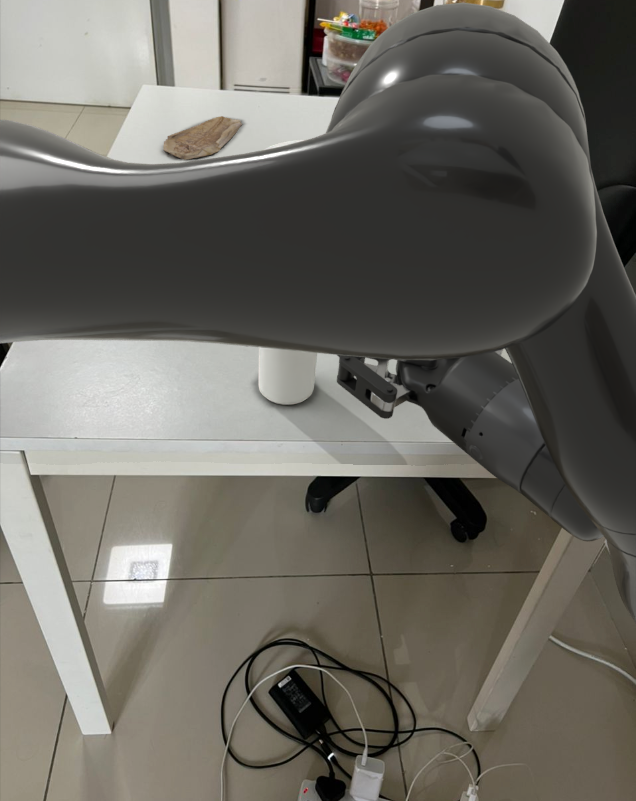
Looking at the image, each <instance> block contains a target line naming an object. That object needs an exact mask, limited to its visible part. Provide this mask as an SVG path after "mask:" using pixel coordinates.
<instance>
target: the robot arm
mask: <svg viewBox="0 0 636 801" xmlns="http://www.w3.org/2000/svg"><path fill="white" fill-rule="evenodd" d="M587 131H588V130H587V122H586V115H585V110H584V106H583V103H582V99H581V97H580V93H579V90H578V88H577V85H576V82H575V79H574V78H573V75H572V73H571V72H570V70H569V67H568V66H567V64H566V63H565V61H564V60H563V58H562V56H561V55H560V54H559V52H558V51H557V50H556V48H554V46H552V45H551V43H550V42H549V41H548V40H547V39H546V38H545V37H544V35H543V34H541V33H540V32H539V31H538V30H537V29H536V28H534V27H533V26H531V25H529V24H528V23H527V22H526V21H523V20H522V19H520V18H519V17H518V16H516V15H514V14H511V13H509V12H507V11H503V10H501V9H498V8H496V7H493V6H491V5H484V4H476V3H471V2H470V3H469V2H455V3H444V4H436V5H432V6H429V7H427V8H424V9H421V10H417V11H415V12H412V13H410V14H408V15H407V16H405V17H404V18H401V19H400V20H399V21H397V22H395V23H393V24H391V25H390V26H389V27H388V28H387V29H385V30H384V31H383V32H381V34H379V35H378V36H377V38H376V39H374V40H373V41H372V42H371V44H369V46H368V47H367V49H366V50H365V52H364V53H363V54H362V56H361V57H360V58H359V60H358V61H357V63H356V64H355V66H354V67H353V69H352V71H351V73H350V75H349V77H348V78H347V81H346V82H345V85H344V86H343V89H342V91H341V94H340V96H339V98H338V100H337V103H336V105H335V107H334V109H333V113H332V114H331V118H330V121H329V124H328V126H327V129H326V131H325V133H323V134H321V135H319V136H314V137H312V138H308V140H307V139H303V140H304V141H301V142H297V143H293V144H289V145H285V146H281V147H276V148H271V149H266V150H263V149H261V150H257V151H251V152H247V153H240V154H232V155H226V156H217V157H212V158H211V157H210V158H204V159H197V160H191V161H183V162H170V163H143V162H142V163H140V162H127V161H122V160H118V159H114V158H111V157H108V156H106V155H104V154H100V153H99V152H96V151H94V150H92V149H89V148H87V147H85V146H84V145H83V146H82V145H81V144H79V143H76V142H74V141H72V140H70V139H67V138H65V137H63V136H60V135H59V134H56V133H54V132H51V131H49V130H46V129H43V128H41V127H38V126H35V125H32V124H27V123H23V122H18V121H15V120H9V119H0V344H9V343H20V342H23V343H24V342H35V341H127V342H128V341H129V342H130V341H131V342H184V343H185V342H187V343H203V344H218V345H226V346H227V345H229V346H240V347H251V348H259V347H261V348H271V349H281V350H292V351H302V352H312V353H317V354H322V355H323V354H324V355H335V356H337V357H338V358H339V359H338V368H337V370H338V371H337V376H336V383H337V384H338V385H339V386H340V387H341V388H343V389H344V390H345V391H346V392H348V393H349V394H350V395H352V397H354V398H356V399H357V400H358V401H359V402H361V404H363V405H364V406H365V407H367V408H368V409H369V410H370V411H372V412H373V413H375V415H377V416H378V417H379V418H381V419H384V420H386V419H391V418H392V417H393V415H394V410H395V408H397V407H398V406H400V405H402V404H403V403H406V402H408V403H410V404H414V405H416V406H418V407H420V408H421V409H423V411H424V412H425V414H426V416H427V418H428V420H429V422H430V424H431V425H432V427H434V428H435V429H437V430H438V431H439V432H440V433H441V434H443V435H444V436H445V437H446V438H448V439H449V440H450V441H451V442H452V443H453V444H455V445H456V446H457V447H458V448H459V449H461V450H462V451H463V452H464V453H466V455H468V456H469V457H470V458H472V459H473V460H474V461H475V462H476V463H477V464H479V465H480V466H481V467H482V468H484V469H485V470H486V472H489V473H490V474H491V475H492V476H494V477H495V478H496V479H498V480H499V481H501V482H502V483H504V484H506V485H507V486H509V487H510V488H512V489H513V490H515V491H516V492H518V493H519V494H521V495H522V496H523V497H524V498H526V499H527V500H528V501H529V502H531V503H532V504H533V505H534V506H536V507H537V509H539V510H540V511H541V512H543V513H544V514H545V515H546V516H547V517H549V518H550V519H551V520H552V521H553V522H554V523H555V524H557V525H558V526H559V527H560V528H561V529H563V530H564V531H565V532H567V533H568V534H570V535H571V536H573V537H574V538H576V539H577V540H580V541H582V542H594V541H598V540H600V539H603V538H604V539H605V541H606V545H607V549H608V552H609V557H610V561H611V566H612V571H613V576H614V580H615V584H616V588H617V591H618V594H619V596H620V598H621V601H622V603H623V605H624V607H625V608H626V610H627V613H628V614H629V616H630V618H631V619H632V620H633V622H634V623H635V624H636V293H635V291H634V288H633V285H632V284H631V281H630V279H629V277H628V274H627V272H626V269H625V267H624V264H623V262H622V259H621V257H620V254H619V252H618V249H617V247H616V244H615V241H614V238H613V236H612V233H611V229H610V227H609V224H608V222H607V219H606V216H605V214H604V210H603V207H602V203H601V199H600V196H599V193H598V189H597V186H596V182H595V178H594V174H593V170H592V166H591V164H592V163H591V156H590V155H591V154H590V148H589V141H588V140H589V139H588V132H587ZM504 350H505V352H506V354H507V357H508V358H509V360H510V361H509V360H507V359H506V358H505V357H503V351H504ZM366 359H370V360H373V361H376V362H377V365H374V364H370V363H365V362H366ZM391 360H395V361H396V363H395V364H396V365H395V372H396V374H394V373H392V372H390V371H389V369H388V368H389V363H390V361H391Z"/></svg>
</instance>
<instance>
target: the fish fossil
mask: <svg viewBox="0 0 636 801" xmlns="http://www.w3.org/2000/svg"><path fill="white" fill-rule="evenodd" d="M242 125H243V123H242V122H241V120H240V119H235V118H231V117H228V116H227V117H225V116H223V115H221V116H216V117H212V118H211V119H208V120H206V121H204V122H201V123H200V124H197V125H194V126H192V127H189V128H187V129H184V130H181V131H178V132H175V133H173V134H172V133H171V134H170V135H168V136H167V138H166V139H165V141H163V147H162V148H163V152H166V153H168V154H170V155H172V156H175V157H177V158H179V159H181V160H185V161H186V160H192V159H197V158H198V159H199V158H203V157H206V156H213V154H215V153H218V152H220V150H221V149H222V148H223V147H224V146H225V145H226V144H227V143H228V142H229V141H230V140H231V139H232V138H233V137H234V135H236V134H237V133H238V131H239V130H240V128H241V127H242Z"/></svg>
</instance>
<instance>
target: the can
mask: <svg viewBox="0 0 636 801" xmlns="http://www.w3.org/2000/svg"><path fill="white" fill-rule="evenodd" d="M317 360H318V353H312V352H302V351H292V350H281V349H271V348H261V347H258V374H257V375H258V380H257V381H258V382H257V383H258V390H259V392H260V394H261V395H262V396H263V397H264V398H265V399H266V400H268V401H269V402H271V403H274V404H277V405H281V406H294V405H297V404H300V403H302V402H304V401H305V400H307V399H309V398H310V397H311V396H312V394H313V393H314V389H315V381H316V372H317Z"/></svg>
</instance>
